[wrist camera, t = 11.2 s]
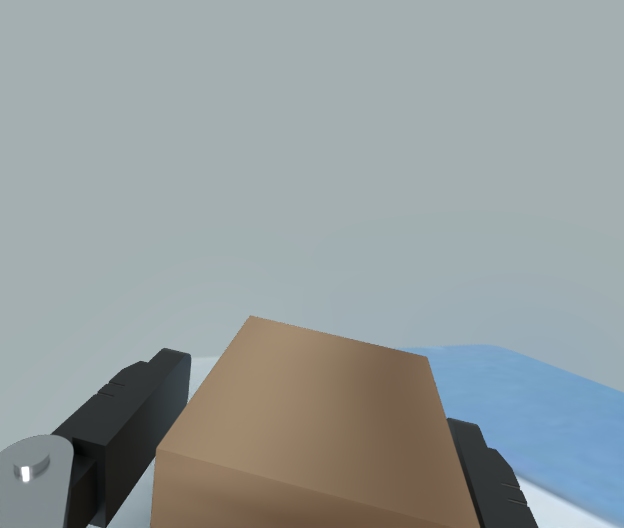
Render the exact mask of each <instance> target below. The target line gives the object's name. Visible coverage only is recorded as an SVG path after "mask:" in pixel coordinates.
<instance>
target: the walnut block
mask: <svg viewBox="0 0 624 528" xmlns="http://www.w3.org/2000/svg"><path fill="white" fill-rule="evenodd" d="M150 528H480V525H479V522H478V519H477V516H476V512H475V509H474V506H473V503H472V500H471V496H470V493H469V490H468V487H467V484H466V480H465V477H464V474H463V471H462V468H461V464H460V461H459V458H458V455H457V452H456V448H455V445H454V442H453V439H452V435H451V432H450V429H449V426H448V423H447V419H446V416H445V413H444V410H443V407H442V403H441V400H440V397H439V394H438V391H437V387H436V384H435V381H434V378H433V374H432V371H431V368H430V365H429V362H428V358H427V357H425V356H421V355H417V354H412V353H408V352H404V351H400V350H395V349H391V348H387V347H383V346H378V345H374V344H370V343H365V342H361V341H357V340H353V339H348V338H344V337H340V336H336V335H331V334H327V333H323V332H319V331H314V330H310V329H306V328H301V327H297V326H293V325H289V324H284V323H280V322H276V321H271V320H267V319H263V318H259V317H254V316H249V318H248V319H247V321H246V322H245V323H244V325H243V326H242V328H241V329H240V330H239V332H238V333H237V335H236V336H235V337H234V339H233V340H232V342H231V343H230V345H229V346H228V347H227V349H226V350H225V352H224V353H223V355H222V356H221V357H220V359H219V360H218V362H217V363H216V364H215V366H214V367H213V369H212V370H211V371H210V373H209V374H208V376H207V377H206V379H205V380H204V381H203V383H202V384H201V386H200V387H199V388H198V390H197V391H196V393H195V394H194V396H193V397H192V398H191V400H190V401H189V403H188V404H187V405H186V407H185V408H184V410H183V411H182V413H181V414H180V415H179V417H178V418H177V420H176V421H175V422H174V424H173V425H172V427H171V428H170V430H169V431H168V432H167V434H166V435H165V437H164V438H163V439H162V441H161V442H160V444H159V445H158V447H157V448H156V458H155V471H154V484H153V497H152V510H151V523H150Z"/></svg>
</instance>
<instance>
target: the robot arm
mask: <svg viewBox="0 0 624 528" xmlns="http://www.w3.org/2000/svg"><path fill="white" fill-rule="evenodd" d="M190 369H191V355H190V354H188V353H183V352H179V351H175V350H171V349H167V348H163V349H162V350H161V351H159V352H158V353H157V354H156V355H155V356H154V357H153V358H152V359H151V360H150V361H149V362H148V363H147V362H143V361H139V362H137V363H135V364H133V365H131V366H128V367H126V368H124V369H122V370H121V371H120V372H119V373H118V374H117V375H116V376H114V377H113V378H112V379H111V380H110V381H109V383H108V384H106V385H104V387H102V388H101V389H100V390H99V391H98V393H97V394H95V395H93V397H91V398H90V399H89V400H88V401H87V402H86V403H85V404H84V405H82V406H81V407H80V408H79V409H78V410H77V411H76V412H75V413H74V414H72V415H71V416H70V417H69V418H68V419H67V420H66V421H65V422H64V423H62V424H61V425H60V426H59V427H58V428H57V429H56V430H55V431H54V432H53V433H52V434H50V435H38V436H34V437H30V438H27V439H24V440H21V441H19V442H16V443H14V444H13V445H11V446H9V447H7V448H6V449H4V450H3V451H2V452H1V453H0V528H86V527H87V525H88V524H91V525H94V526H98V527H101V528H106V527H107V525H108V524H109V523H110V521H111V520H112V518H113V517H114V515H115V514H116V512H117V511H118V509H119V508H120V507H121V505H122V504H123V502H124V501H125V499H126V498H127V496H128V495H129V493H130V492H131V491H132V489H133V488H134V486H135V485H136V483H137V482H138V480H139V479H140V478H141V476H142V475H143V473H144V472H145V470H146V469H147V467H148V466H149V464H150V463H151V462H152V460H153V459H154V457H155V456H156V448H157V447H158V445H159V444H160V442H161V441H162V439H163V438H164V437H165V435H166V434H167V432H168V431H169V430H170V428H171V427H172V425H173V424H174V422H175V421H176V420H177V418H178V417H179V415H180V414H181V413H182V411H183V410H184V408H185V407H186V405H187V400H188V392H189V380H190ZM447 423H448V426H449V429H450V432H451V435H452V439H453V442H454V445H455V448H456V452H457V455H458V458H459V461H460V464H461V468H462V471H463V474H464V477H465V480H466V484H467V487H468V490H469V493H470V496H471V500H472V503H473V506H474V509H475V512H476V516H477V519H478V522H479V525H480V528H538V526H537V523H536V521H535V519H534V517H533V514H532V512H531V510H530V508H529V507H527V501H526V499H525V497H524V494H523V492H522V491H521V490H520V486H519V483H518V481H517V479H516V477H515V474H514V472H513V470H512V468H511V467H510V465H509V464H508V463H507V462H506V461H505V459H504V458H503V457H502V456H501V455H500V454H499V452H498V451H497V450H496V449H492V448H488V447H487V445H486V443H485V440H484V438H483V435H482V433H481V430H480V428H479V426H478V425H476V424H473V423H469V422H464V421H460V420H456V419H452V418H447Z"/></svg>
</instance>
